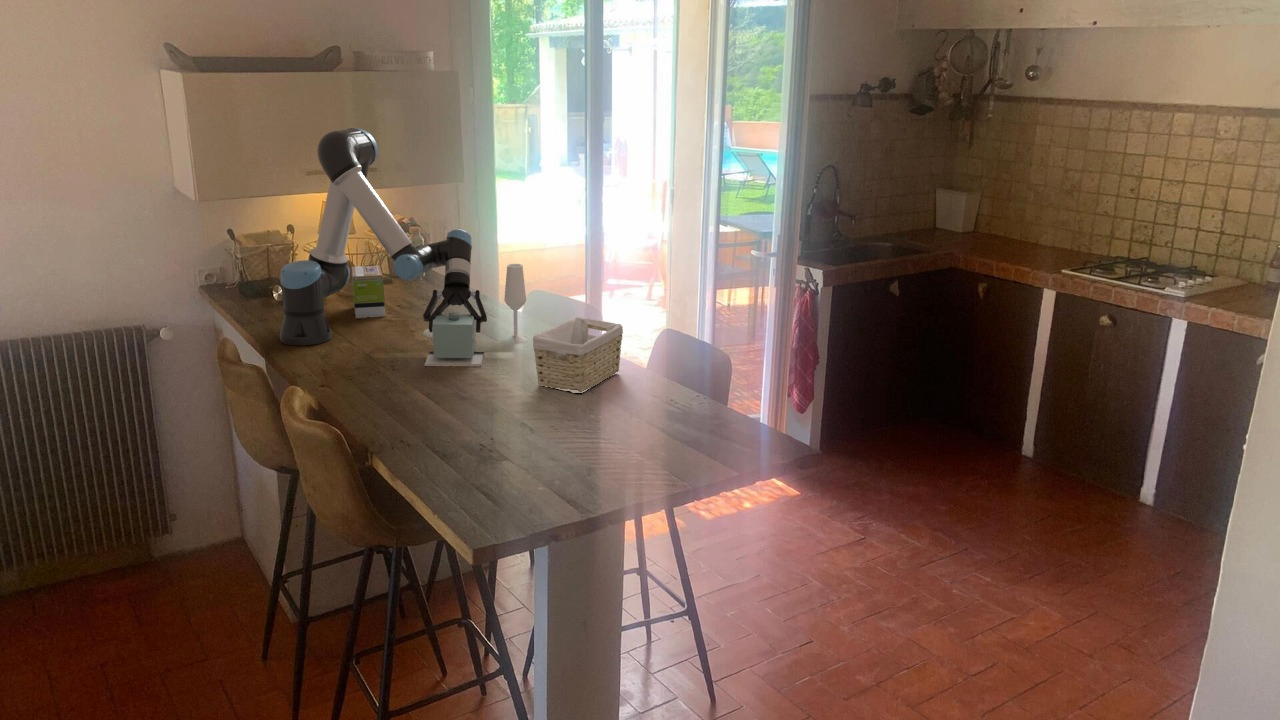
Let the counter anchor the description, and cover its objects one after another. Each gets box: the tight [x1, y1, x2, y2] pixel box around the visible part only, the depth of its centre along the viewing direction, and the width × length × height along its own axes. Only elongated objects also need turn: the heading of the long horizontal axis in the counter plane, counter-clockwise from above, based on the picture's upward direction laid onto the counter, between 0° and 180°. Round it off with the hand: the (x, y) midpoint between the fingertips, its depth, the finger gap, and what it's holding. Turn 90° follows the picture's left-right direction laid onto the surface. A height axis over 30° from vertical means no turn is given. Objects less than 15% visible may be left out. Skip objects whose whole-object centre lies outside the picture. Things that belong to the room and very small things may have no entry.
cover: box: [432, 312, 476, 358], centre depth 276 cm, size 11×11×12 cm
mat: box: [424, 351, 485, 368], centre depth 279 cm, size 16×16×1 cm
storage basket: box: [532, 316, 624, 392], centre depth 262 cm, size 24×16×15 cm
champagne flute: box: [503, 263, 527, 344], centre depth 294 cm, size 7×7×24 cm
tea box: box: [350, 265, 386, 319], centre depth 322 cm, size 15×10×15 cm, turn 18°
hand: (454, 341), depth 275 cm, fingers closed on cover, 11 cm apart
